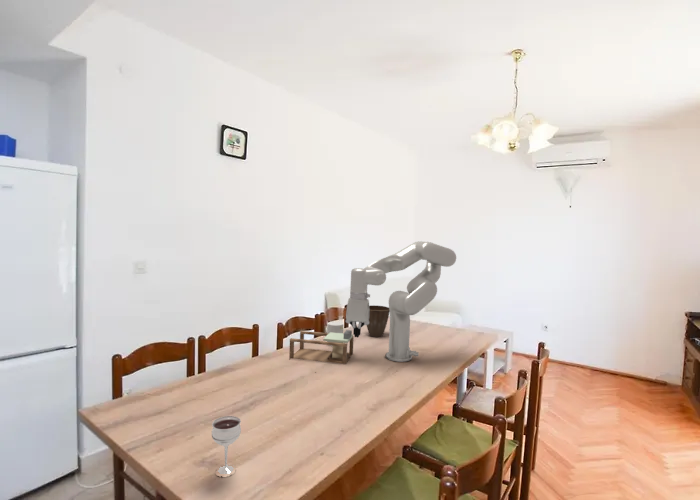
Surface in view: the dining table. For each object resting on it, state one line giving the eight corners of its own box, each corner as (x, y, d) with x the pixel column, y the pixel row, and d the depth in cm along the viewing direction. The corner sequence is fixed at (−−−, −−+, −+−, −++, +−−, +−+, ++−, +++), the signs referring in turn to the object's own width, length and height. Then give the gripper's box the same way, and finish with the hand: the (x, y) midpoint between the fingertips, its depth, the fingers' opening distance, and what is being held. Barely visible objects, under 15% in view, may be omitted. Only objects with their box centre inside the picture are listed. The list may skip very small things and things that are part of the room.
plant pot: (361, 331, 223) (362, 305, 223) (386, 332, 225) (387, 305, 224) (364, 339, 209) (365, 310, 208) (391, 339, 210) (392, 310, 209)
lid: (352, 336, 176) (353, 329, 176) (347, 343, 166) (347, 335, 165) (330, 334, 179) (330, 327, 179) (323, 340, 168) (323, 333, 168)
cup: (342, 349, 189) (343, 325, 188) (326, 348, 189) (326, 325, 189) (343, 344, 197) (343, 321, 196) (327, 344, 197) (328, 321, 197)
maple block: (345, 356, 174) (345, 343, 174) (342, 359, 169) (343, 346, 169) (334, 355, 175) (335, 342, 175) (332, 358, 171) (332, 345, 170)
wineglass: (220, 484, 87) (220, 433, 86) (205, 471, 91) (206, 422, 91) (245, 470, 92) (246, 422, 91) (230, 459, 96) (231, 413, 96)
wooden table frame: (352, 356, 179) (353, 335, 178) (345, 367, 164) (346, 344, 164) (300, 351, 184) (301, 330, 184) (289, 361, 170) (289, 339, 169)
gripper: (376, 296, 171) (374, 336, 172) (344, 293, 175) (342, 333, 175) (373, 298, 164) (372, 340, 165) (340, 296, 167) (338, 337, 168)
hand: (356, 336), depth 170 cm, fingers closed
